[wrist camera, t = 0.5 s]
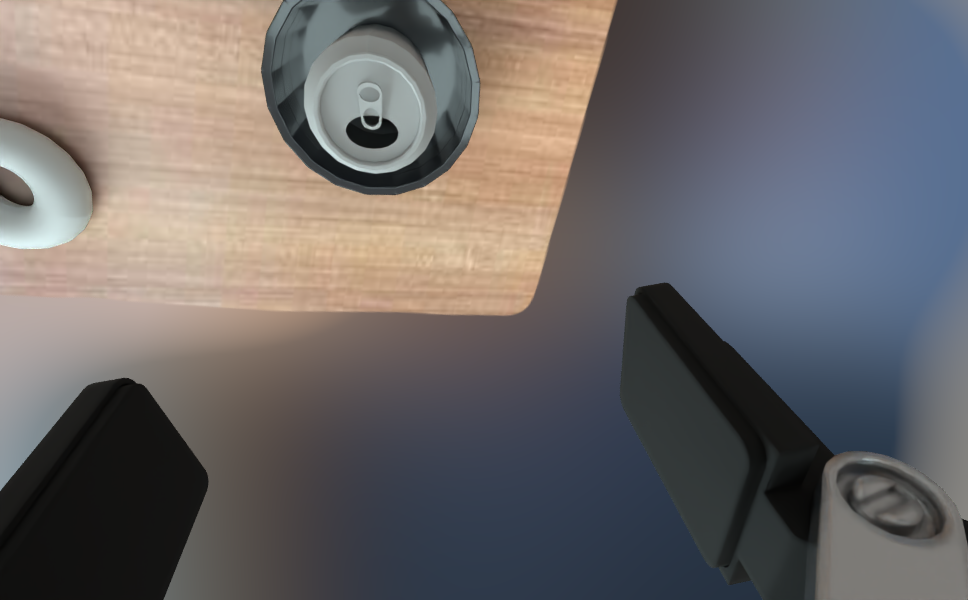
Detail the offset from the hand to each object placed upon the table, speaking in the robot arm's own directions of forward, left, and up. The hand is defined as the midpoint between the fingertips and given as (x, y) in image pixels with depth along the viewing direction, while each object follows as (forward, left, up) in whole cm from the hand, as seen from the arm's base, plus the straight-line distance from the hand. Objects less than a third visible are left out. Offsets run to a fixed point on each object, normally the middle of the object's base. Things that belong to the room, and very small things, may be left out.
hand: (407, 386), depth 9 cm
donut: (-19, -23, -33) cm, 44 cm away
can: (-2, 0, -32) cm, 32 cm away
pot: (-2, 0, -33) cm, 33 cm away
